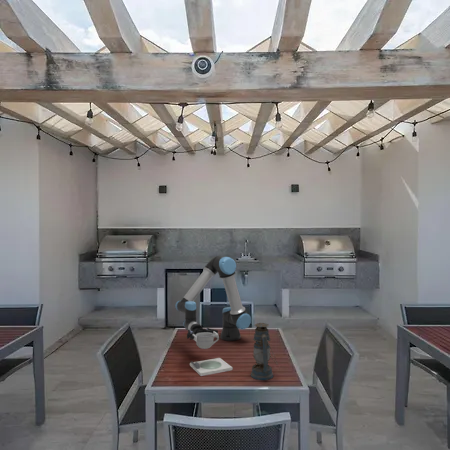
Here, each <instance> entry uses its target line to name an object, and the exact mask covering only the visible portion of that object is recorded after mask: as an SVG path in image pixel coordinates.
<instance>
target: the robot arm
mask: <svg viewBox="0 0 450 450" xmlns="http://www.w3.org/2000/svg"><path fill="white" fill-rule="evenodd" d="M236 269H237V263H236V261H235V260H234V259H233V258H232V257H229V256H221V255H216V256H214V257H212V258H211V259H210V260H209V261H208V262H207V264H206V265H205V266H204V267H203V271H202V273H201V274H200V275H199V276H198V277H197V278H196V280H195V282H194V283H193V284H192V285H191V287H190V288H189V289H188V291H187V292H186V293H185V295H183V297H182V298H181V300H178V301H176V302H175V306H174V307H175V309H176V311H177V312H180V313H181V314H184V321H183V323H182V325H183V327H184V328H185V330H186V331H187V334H186V339H189V340H190V341H191V340H193V341H195V342H197V336H196V334H198V333H203V332H209V333H213V334H214V335H215V334H217V335H218V336H219V335H220V336H219V339H221V340H222V341H226V342H229V341H230V342H231V341H232V342H234V341H238V340H240V339H241V332H240V330H245V329H248V328H249V327H250V324H251V322H252V317H251V315H250V314H249V313H247V310H246V307H245V306H244V305H243V303H242V299H241V296H240V293H239V289H238V285H237V281H236V278H235V275H236ZM216 274H218V278H220V279H221V280H222V283H223V285H224V290H225V293H226V296H227V300H228V302H229V306H226V307H224V308H223V309H222V311H221V312H222V330H221V332H220V334H219V330H217V329H213V328H209V327H206V328H203V326H202V325H201V324H200V323H198V322H197V302H195V300H196V299H197V297H198V296H199V295H200V293H201V292H202V291H203V290H204V288H205V287H206V285H208V283H209V282H210V280H211V279H212V277H215V276H216ZM214 338H216V339H217V338H218V337H217V336H215V337H214Z"/></svg>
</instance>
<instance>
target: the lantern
mask: <svg viewBox="0 0 450 450" xmlns="http://www.w3.org/2000/svg"><path fill="white" fill-rule="evenodd" d="M254 326H255V327H256V328H255V329H254V332H255V333H254V334H253V339H252V341H255V342H254V344H253V351H252V357H253V359H254V360H255V364H253V365H252V368H251V373H250V377H251V379H253V380H254V379H255V380H257V381H268V380H271V379H273V378H274V373H273V368H272V366H271V365H269V361H270V359H272V361H273V362H274V363H275V364H276V365H277V366H278V365H279V363H278V361H277V358H276V357H275V354H274V352H273V350H272V347H271V344H270V343H269V342H270V341H271V340H272V339H271V338H270V333H269V332H270V331H269V329H268V327H269V326H270V325H269V323H266V322H265V323H264V322H259V323H258V322H257V323H254ZM271 354H272V355H273V357H272V355H271ZM273 358H274V359H273Z"/></svg>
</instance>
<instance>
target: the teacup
mask: <svg viewBox="0 0 450 450" xmlns="http://www.w3.org/2000/svg"><path fill="white" fill-rule="evenodd" d="M196 336H197V342H196V341H195V342H196V346H197V347H198V348H199V349H203V350H204V349H205V350H206V349H210V348H211V347H212V346H213V345H215V343H217V342H218V341H219V340H220V336H219V334H218V335H217V334H215V335H214V334H213V333H209V332H203V333H198V334H196ZM215 336H217V337H218V338H216V337H215ZM215 338H216V340H215Z"/></svg>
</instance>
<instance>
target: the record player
mask: <svg viewBox="0 0 450 450" xmlns="http://www.w3.org/2000/svg"><path fill="white" fill-rule="evenodd" d="M189 366H190V367H191V368H192V369H193V370H194V371H195V372H196V373H197V374H198V375H199V376H200V377H202V376H203V377H204V376H210V375H214V374H219V373H224V372H229V371H233V366H231V365H230V363H227V362H226V361H224V360H223V359H222V358H221V357H216V358H211V359H205V360H200V361H194V362H193V361H192V360H191V361H190V362H189Z"/></svg>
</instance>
